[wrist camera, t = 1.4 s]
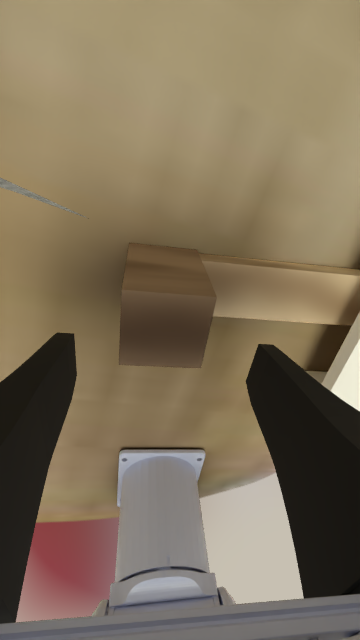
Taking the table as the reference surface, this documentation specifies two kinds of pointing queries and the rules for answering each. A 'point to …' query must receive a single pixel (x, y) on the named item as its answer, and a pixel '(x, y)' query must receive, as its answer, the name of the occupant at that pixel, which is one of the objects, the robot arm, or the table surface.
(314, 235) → the table surface
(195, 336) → the brown wooden mallet
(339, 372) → the shelf
